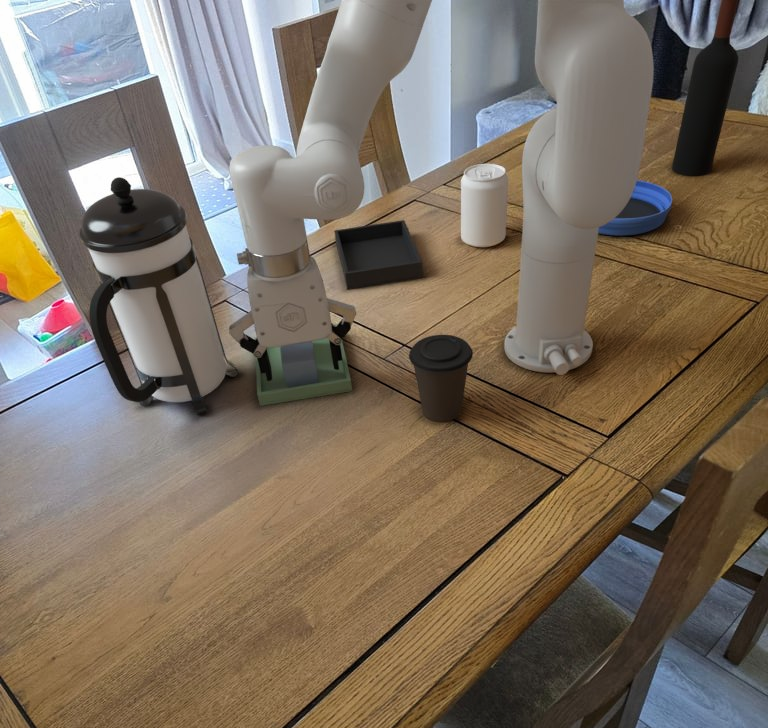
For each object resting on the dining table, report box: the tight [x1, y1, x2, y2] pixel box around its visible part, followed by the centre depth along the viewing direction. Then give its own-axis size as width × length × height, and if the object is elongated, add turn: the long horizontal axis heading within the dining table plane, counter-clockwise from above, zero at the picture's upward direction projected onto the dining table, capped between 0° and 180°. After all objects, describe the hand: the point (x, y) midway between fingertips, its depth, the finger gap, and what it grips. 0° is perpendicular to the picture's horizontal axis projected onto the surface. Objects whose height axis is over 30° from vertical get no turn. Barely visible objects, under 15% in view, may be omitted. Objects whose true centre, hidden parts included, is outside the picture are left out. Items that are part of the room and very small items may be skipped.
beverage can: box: [460, 163, 509, 248], centre depth 123 cm, size 8×8×12 cm
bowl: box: [598, 179, 673, 237], centre depth 128 cm, size 18×18×4 cm
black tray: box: [334, 219, 424, 290], centre depth 124 cm, size 17×13×3 cm
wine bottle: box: [671, 0, 739, 177], centre depth 131 cm, size 8×8×30 cm
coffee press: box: [79, 177, 239, 416], centre depth 90 cm, size 17×16×30 cm
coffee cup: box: [408, 334, 474, 423], centre depth 90 cm, size 8×8×10 cm
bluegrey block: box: [280, 342, 319, 388], centre depth 99 cm, size 5×5×5 cm
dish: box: [253, 323, 353, 407], centre depth 103 cm, size 15×13×2 cm
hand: (302, 370), depth 100 cm, fingers open, 9 cm apart
